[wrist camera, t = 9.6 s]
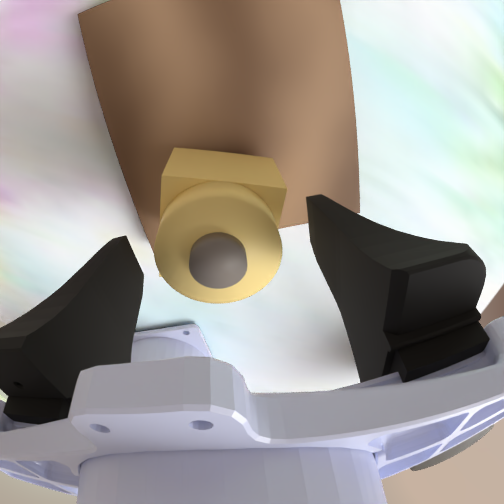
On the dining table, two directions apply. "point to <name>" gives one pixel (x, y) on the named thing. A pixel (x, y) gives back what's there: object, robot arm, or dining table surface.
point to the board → (227, 92)
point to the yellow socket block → (219, 224)
